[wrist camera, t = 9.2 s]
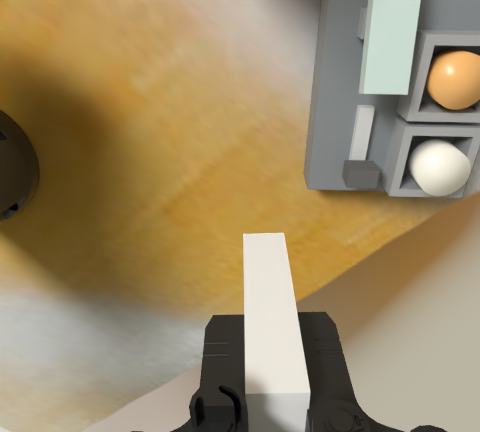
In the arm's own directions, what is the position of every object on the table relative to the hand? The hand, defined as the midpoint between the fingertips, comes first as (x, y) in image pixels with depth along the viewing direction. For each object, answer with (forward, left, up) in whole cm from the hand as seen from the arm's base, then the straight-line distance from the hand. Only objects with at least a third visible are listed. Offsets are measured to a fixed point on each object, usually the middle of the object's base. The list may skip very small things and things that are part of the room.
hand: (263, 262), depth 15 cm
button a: (+17, -5, -23) cm, 29 cm away
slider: (+10, -7, -24) cm, 27 cm away
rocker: (+10, +6, -22) cm, 25 cm away
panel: (+14, +2, -30) cm, 33 cm away
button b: (+17, +2, -25) cm, 30 cm away
